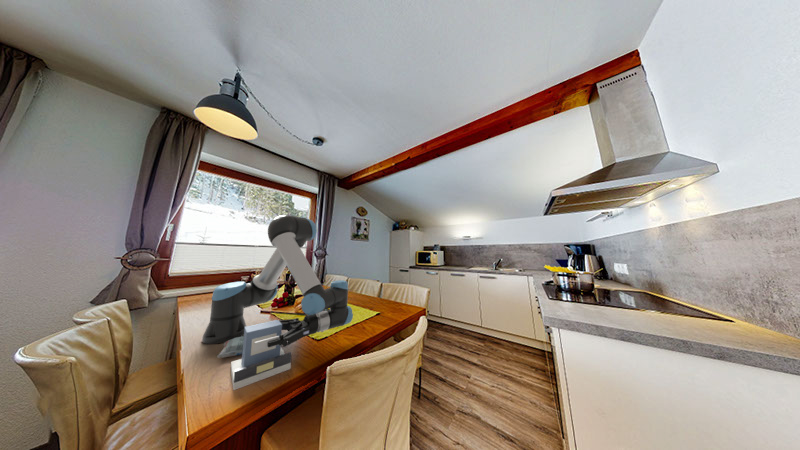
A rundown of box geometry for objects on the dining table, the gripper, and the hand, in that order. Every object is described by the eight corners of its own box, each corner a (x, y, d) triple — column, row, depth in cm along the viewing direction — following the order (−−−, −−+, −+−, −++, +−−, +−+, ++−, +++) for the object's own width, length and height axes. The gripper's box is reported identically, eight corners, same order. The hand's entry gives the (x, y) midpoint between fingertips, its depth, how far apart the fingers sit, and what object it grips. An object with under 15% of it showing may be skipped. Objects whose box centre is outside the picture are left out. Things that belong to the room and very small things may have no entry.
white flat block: (230, 368, 67) (232, 352, 68) (280, 352, 77) (281, 338, 78) (233, 391, 57) (235, 372, 57) (290, 369, 67) (291, 353, 67)
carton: (241, 364, 66) (244, 326, 68) (275, 353, 73) (278, 319, 74) (243, 372, 62) (247, 332, 63) (279, 360, 69) (282, 324, 70)
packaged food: (215, 363, 70) (217, 349, 70) (223, 348, 80) (224, 336, 80) (246, 357, 74) (248, 343, 75) (250, 343, 84) (251, 331, 85)
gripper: (328, 343, 71) (256, 368, 57) (305, 323, 89) (246, 337, 75) (329, 322, 72) (258, 340, 57) (306, 306, 90) (248, 317, 76)
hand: (251, 339), depth 66 cm, fingers open, 13 cm apart
